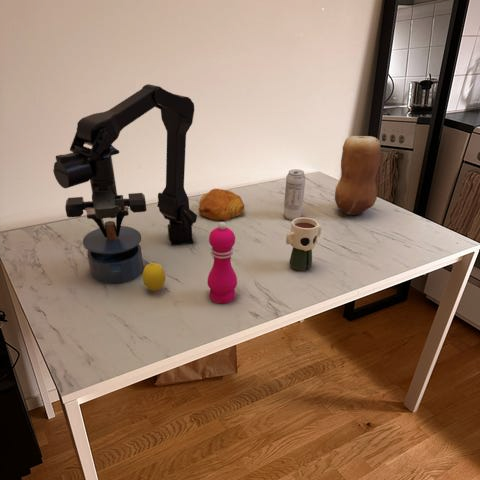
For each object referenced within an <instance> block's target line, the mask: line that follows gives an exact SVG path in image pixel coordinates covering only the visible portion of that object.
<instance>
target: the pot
mask: <svg viewBox="0 0 480 480" xmlns="http://www.w3.org/2000/svg"><path fill="white" fill-rule="evenodd" d="M142 253H143V252H142V245H140V243H139V244H138V245H137V246H136V247H134V248H132V249H130V250H128V251H125V252H121V253H115V254H99V253H94V252H91V251H89V250H87V261H88V265H89V269H90V273H91V276H92V278H93V279H94V280H95V281H97V282H100V283H103V284H109V285H116V284H118V285H119V284H123V283H124V284H125V283H128V282H131V281H133V280H135V279H137V278H138V277H140V276H141V275H142V274H143V270H144V268H145V267H144V261H143V254H142Z"/></svg>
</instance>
